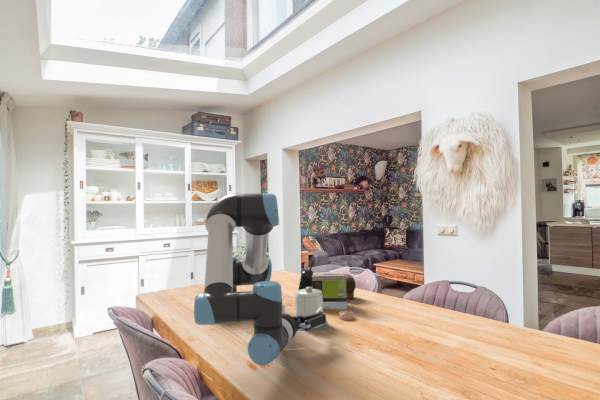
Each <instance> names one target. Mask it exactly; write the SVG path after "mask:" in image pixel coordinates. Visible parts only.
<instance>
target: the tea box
mask: <svg viewBox="0 0 600 400" xmlns="http://www.w3.org/2000/svg"><path fill="white" fill-rule="evenodd" d="M345 274H346V272H345V271H343V272H342V271H337V272H336V271H332V272H330V271H328V272H327V271H326V272H324V271H323V272H315V273H313V275H312V289H318V290H321V291H322V295H323V310H348V300H347V291H346V275H345Z"/></svg>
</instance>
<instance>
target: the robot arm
mask: <svg viewBox="0 0 600 400" xmlns="http://www.w3.org/2000/svg"><path fill="white" fill-rule="evenodd" d="M278 206H279V205H278V199H277V196H276V195H275V194H274V193H266V192H263V193H258V192H257V193H230V194H226V195H224V196H222V197H221V198H219V199H218V200H217V201H216V202H215V203H214V204H213V205H212V206H211V207H210V210H209V211H208V212H207V215H206V219H205V230H206V231H207V232H208V234H207V247H206V249H207V250H206V260H205V261H206V262H205V275H204V277H205V278H204V292H203V293H200V294H196V295H195V298H194V304H193V316H194V323H195V324H197V326H198V325H199V326H215V325H220V324H229V323H230V324H231V323H243V322H253V336H252V337H251V338H250V339H249V341H248V345H247V353H248V356H249V358H250V360H251V361H252V362H254V363H255V364H257V365H259V366H266V365H269V364H271V363H272V362H273V361H275V360H276V359H277V358H278V356H279V355H280V353H281V352H283V350H284V349H285V347H286V346H287V345H288V344H289V343H290V342H291V340H293V338H294V337H295V336H296V334H297V333H298V331H297V330H298V329H300V328H305V330H306V331H305V332H309V330H310V329H311V328H314V327H316V326H319V325H321V324H324V323H326V319H327V317H326V315H327V314H326V313H324V311H323V312H322V307H320V308H319V309H318V310H317V311H316V312H315V314H312V315H308V316H304V317H303V316H296V315H295V316H294V315H290V314H288V313H286V308H285V307H286V305H285V304H283V295H282V285H281V284H280V283H279V282H278V281H273V280H271V279H272V270H273V267H272V260H271V258H270V257H268V256H267V252H268V242H269V235H270V233H271V232H272V230H273V229H274V228H275V227H277V226H279V225H280V219H279V218H280V217H279V207H278ZM236 228H243V229H244V231H245V236H246V237H245V253H244V256H242V258H237V255H233V254H234V252H233V250H234V248H233V246H234V245H233V244H234V243H233V238H234V237H233V234H234V231H235V230H236ZM238 286H239V287H240V286H252V290H246V291H243V290H242V291H238V290H237V289H238ZM298 319H300V320H298Z"/></svg>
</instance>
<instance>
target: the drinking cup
mask: <svg viewBox="0 0 600 400" xmlns="http://www.w3.org/2000/svg"><path fill="white" fill-rule="evenodd" d="M313 265H314V261H313V260H312V261H311V264H310V267H309V269H307V268H305V269H302V270H301V272H300V273H301V274H300V279H299V285H298V290H301V289H306V287H312V275H313V273H316V272H315V271H313V270H312V268H313ZM298 290H297V291H298Z"/></svg>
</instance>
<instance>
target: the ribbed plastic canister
mask: <svg viewBox="0 0 600 400" xmlns="http://www.w3.org/2000/svg"><path fill="white" fill-rule="evenodd" d="M295 307H296V308H295V311H296V313H295V317H296V316H303V317H304V316H308V315H312V314H315V312H316V311H317V310H318V309H319V308H320V307H322V312H323V313H324V309H323V295H322V291H321V290H318V289H312V287H306V289H301V290H296V291H295ZM298 320H300V319H298ZM322 325H323V324H321V325H319V326H316V327H314V328H318V327H320V326H322Z"/></svg>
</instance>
